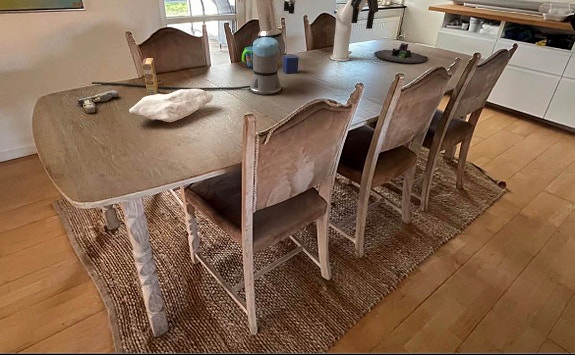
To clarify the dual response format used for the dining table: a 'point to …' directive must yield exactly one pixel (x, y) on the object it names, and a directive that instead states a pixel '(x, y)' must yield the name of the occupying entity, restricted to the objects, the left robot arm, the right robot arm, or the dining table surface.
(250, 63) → the snack cup
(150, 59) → the candy box
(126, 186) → the dining table surface
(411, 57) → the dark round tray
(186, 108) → the crumpled cloth
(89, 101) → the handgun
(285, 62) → the block
